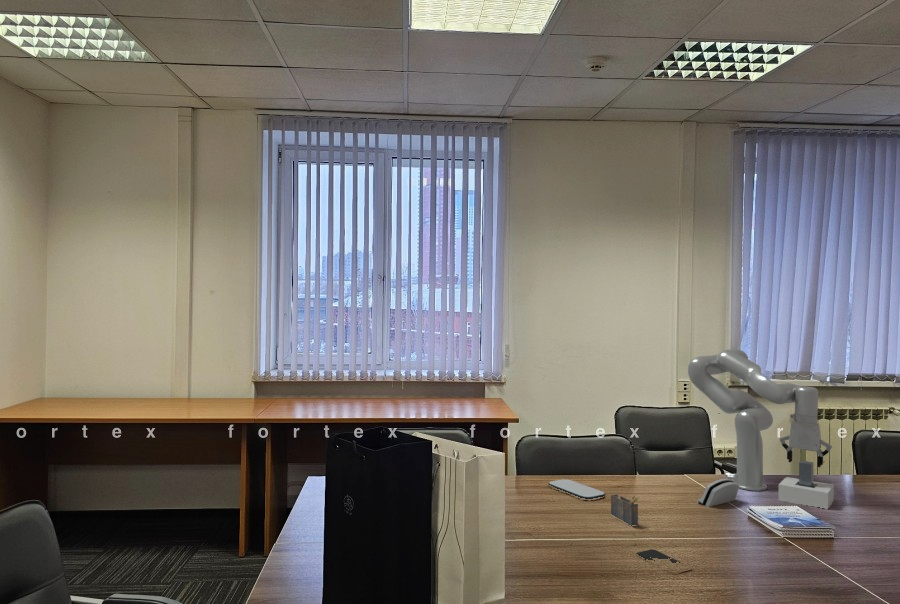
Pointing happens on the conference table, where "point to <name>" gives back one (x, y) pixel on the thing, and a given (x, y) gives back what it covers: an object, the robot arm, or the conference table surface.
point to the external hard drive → (577, 489)
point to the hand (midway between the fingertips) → (804, 464)
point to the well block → (806, 493)
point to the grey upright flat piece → (625, 509)
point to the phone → (655, 555)
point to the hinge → (719, 492)
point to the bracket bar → (806, 474)
